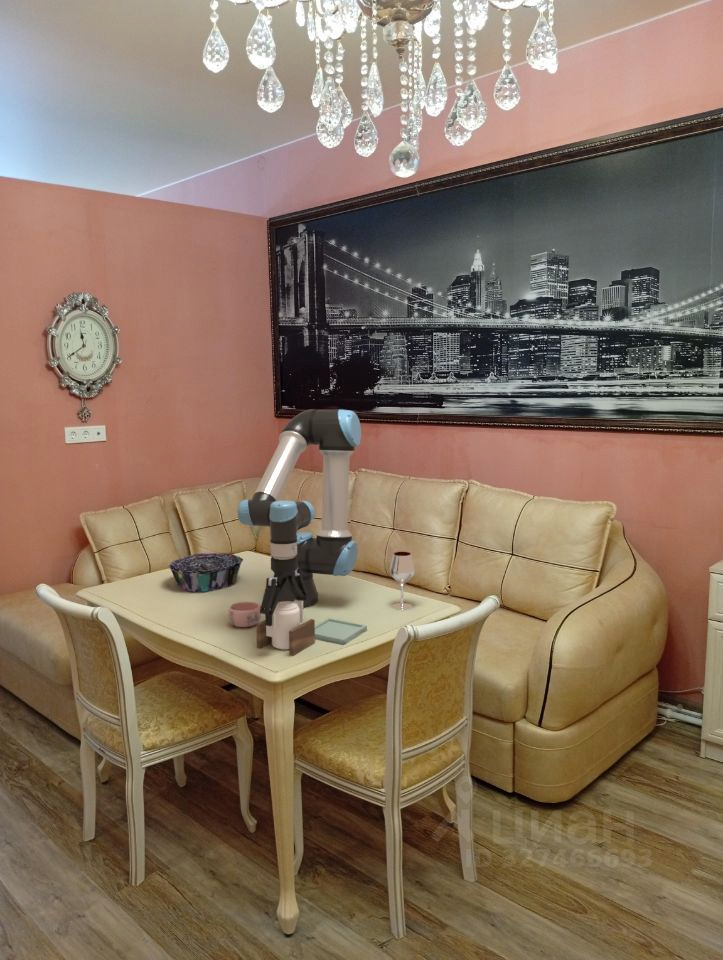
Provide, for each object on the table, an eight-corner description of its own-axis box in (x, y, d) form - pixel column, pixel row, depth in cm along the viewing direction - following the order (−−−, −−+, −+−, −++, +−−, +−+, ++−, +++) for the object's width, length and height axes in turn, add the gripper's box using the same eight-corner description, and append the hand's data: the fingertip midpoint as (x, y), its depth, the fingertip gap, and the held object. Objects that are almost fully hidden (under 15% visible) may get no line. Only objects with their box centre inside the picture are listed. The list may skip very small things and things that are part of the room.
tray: (304, 636, 222) (304, 631, 222) (328, 622, 234) (328, 617, 234) (343, 644, 216) (343, 639, 215) (367, 630, 227) (367, 625, 227)
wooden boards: (257, 647, 214) (256, 624, 213) (279, 635, 223) (279, 612, 222) (293, 656, 208) (292, 631, 207) (314, 642, 217) (314, 619, 216)
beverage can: (295, 651, 211) (294, 610, 209) (268, 649, 213) (267, 609, 211) (303, 641, 219) (302, 601, 217) (277, 639, 220) (276, 599, 218)
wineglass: (388, 603, 252) (388, 550, 249) (412, 602, 253) (412, 550, 250) (391, 611, 244) (391, 557, 241) (416, 610, 245) (416, 556, 242)
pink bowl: (243, 632, 226) (243, 613, 225) (222, 625, 232) (221, 607, 231) (272, 621, 235) (272, 603, 234) (251, 615, 241) (250, 597, 240)
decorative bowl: (257, 585, 279) (258, 558, 278) (204, 599, 256) (204, 570, 255) (207, 574, 293) (208, 549, 292) (152, 587, 270) (152, 560, 269)
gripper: (268, 568, 199) (269, 645, 202) (319, 548, 220) (320, 618, 223) (245, 564, 203) (247, 640, 206) (298, 545, 224) (299, 614, 227)
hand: (285, 629), depth 215 cm, fingers open, 13 cm apart
